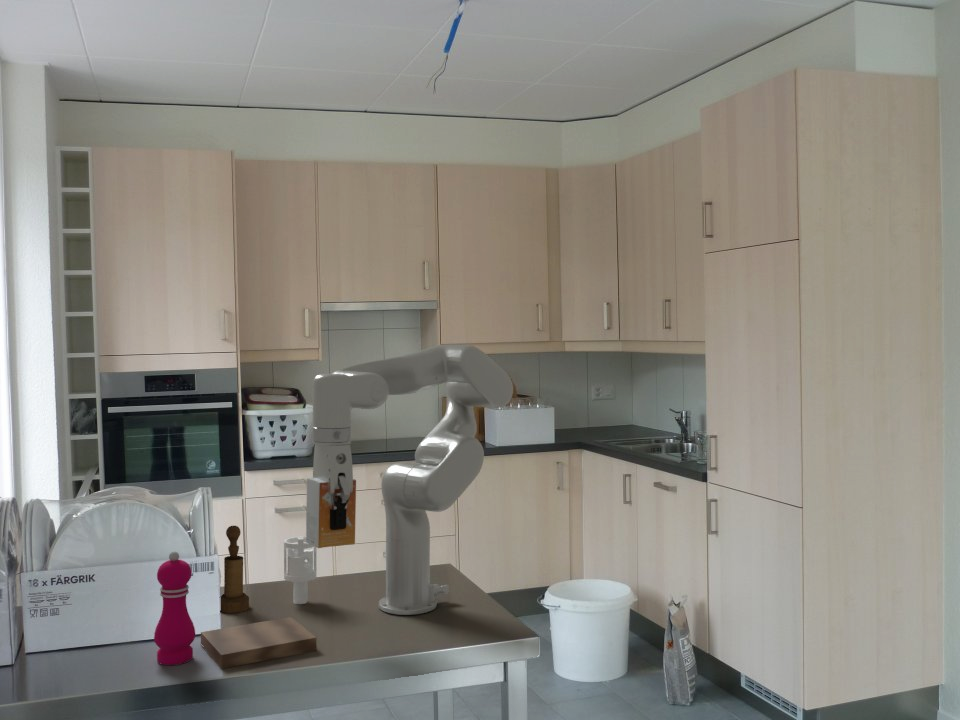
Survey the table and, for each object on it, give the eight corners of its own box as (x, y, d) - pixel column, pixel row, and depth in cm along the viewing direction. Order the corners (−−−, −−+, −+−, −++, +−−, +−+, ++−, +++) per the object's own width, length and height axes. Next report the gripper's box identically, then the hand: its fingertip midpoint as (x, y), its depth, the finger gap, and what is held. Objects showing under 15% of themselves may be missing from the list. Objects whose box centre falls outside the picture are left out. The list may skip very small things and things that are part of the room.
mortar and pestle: (253, 610, 199) (253, 527, 198) (224, 615, 196) (223, 531, 195) (242, 602, 205) (242, 521, 204) (213, 607, 201) (213, 525, 200)
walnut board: (290, 629, 187) (290, 616, 187) (316, 650, 175) (316, 637, 175) (200, 645, 178) (200, 632, 178) (221, 668, 166) (221, 655, 166)
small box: (318, 549, 179) (318, 482, 179) (305, 542, 185) (305, 477, 184) (356, 544, 184) (356, 479, 183) (342, 538, 189) (343, 474, 189)
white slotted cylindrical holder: (284, 607, 201) (284, 539, 200) (283, 598, 208) (283, 532, 207) (317, 605, 202) (317, 538, 202) (315, 596, 209) (315, 530, 208)
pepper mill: (163, 651, 174) (161, 546, 173) (201, 652, 174) (200, 547, 173) (148, 666, 167) (146, 556, 166) (187, 666, 167) (186, 557, 166)
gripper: (367, 439, 178) (366, 532, 179) (332, 430, 193) (331, 516, 193) (331, 441, 174) (330, 536, 175) (298, 432, 189) (297, 519, 189)
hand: (330, 525), depth 184 cm, fingers closed on small box, 6 cm apart
